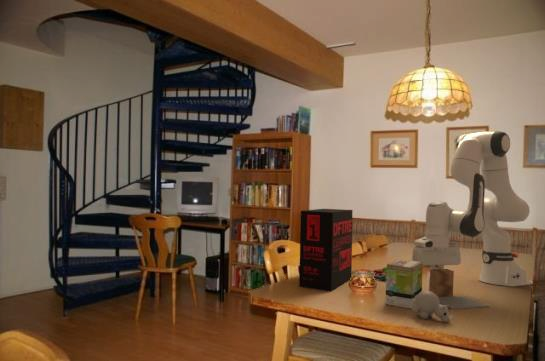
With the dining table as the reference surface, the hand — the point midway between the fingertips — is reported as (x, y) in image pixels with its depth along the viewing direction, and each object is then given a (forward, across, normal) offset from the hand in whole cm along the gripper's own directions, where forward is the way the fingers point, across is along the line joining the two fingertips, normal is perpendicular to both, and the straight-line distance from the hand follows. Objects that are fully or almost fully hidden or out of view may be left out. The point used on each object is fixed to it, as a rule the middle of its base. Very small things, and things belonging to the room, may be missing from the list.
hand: (436, 276), depth 163 cm
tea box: (+7, +20, +9) cm, 23 cm away
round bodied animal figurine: (+7, +22, +28) cm, 36 cm away
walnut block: (+7, 0, +3) cm, 7 cm away
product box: (+7, +38, -25) cm, 46 cm away
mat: (+7, 0, +13) cm, 14 cm away
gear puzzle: (+8, +1, -35) cm, 36 cm away
